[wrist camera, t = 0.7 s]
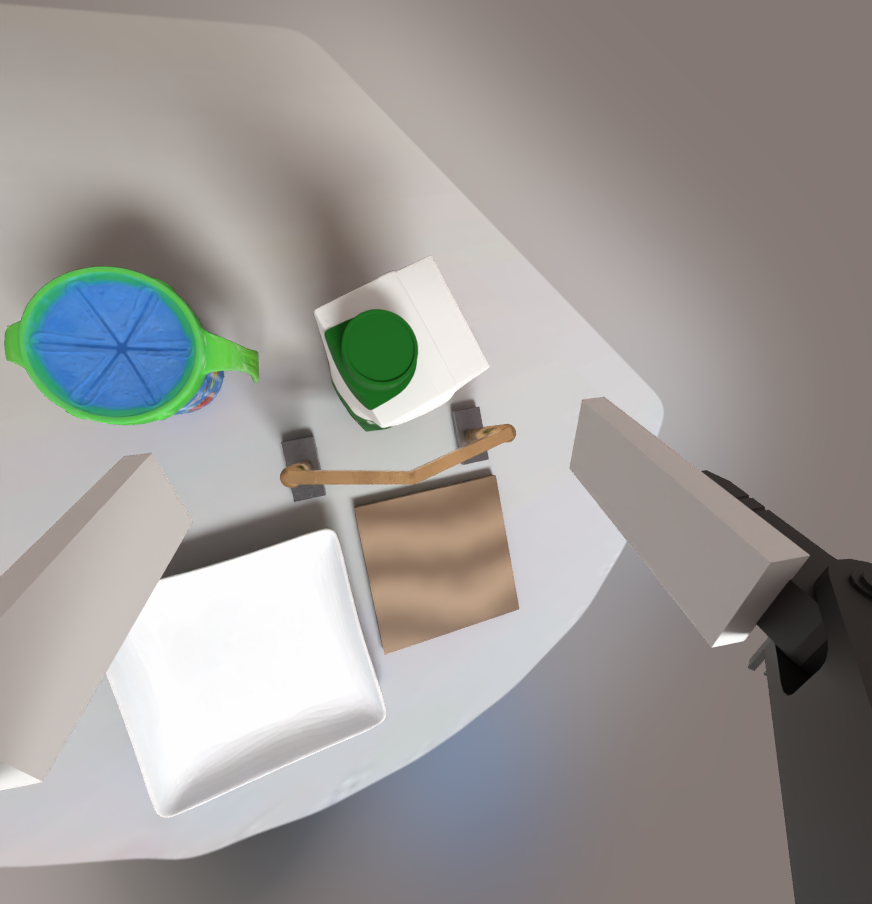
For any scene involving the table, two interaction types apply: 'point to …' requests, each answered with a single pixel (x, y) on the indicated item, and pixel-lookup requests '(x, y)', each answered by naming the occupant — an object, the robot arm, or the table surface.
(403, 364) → the soya milk
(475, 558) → the walnut board
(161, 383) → the snack cup
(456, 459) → the copper wire
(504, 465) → the table surface
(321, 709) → the salad plate
